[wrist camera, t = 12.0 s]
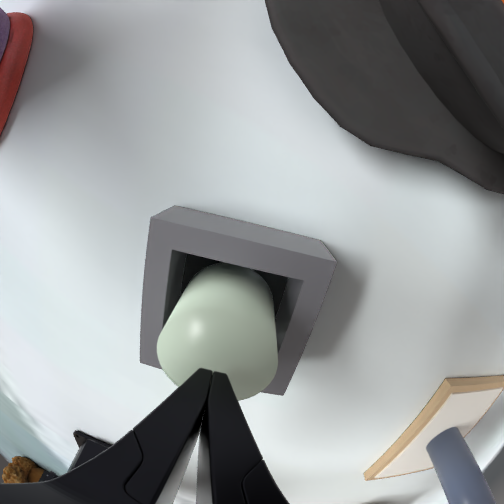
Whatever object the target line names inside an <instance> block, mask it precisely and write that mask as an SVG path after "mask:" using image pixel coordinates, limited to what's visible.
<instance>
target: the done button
mask: <svg viewBox="0 0 504 504" xmlns="http://www.w3.org/2000/svg"><path fill="white" fill-rule="evenodd" d="M157 355H158V360H159V363H160V365H161V367H162V369H163V371H164V372H165V374H166V375H167V376H168V377H169V379H170V380H171V381H172V382H173V383H174V384H176V385H177V386H178V387H179V386H180V385H182V384H183V383H184V382H185V381H186V380H187V379H188V378H189V377H190V376H191V375H192V374H193V373H194V372H195V371H196V370H197V369H199V368H205V369H209V370H212V371H213V372H214V371H218V372H222V373H226V374H227V375H228V378H229V380H230V383H231V385H232V388H233V390H234V393H235V395H236V398H237V400H238V401H239V400H244V399H247V398H250V397H252V396H254V395H256V394H258V393H260V392H261V391H262V390H264V389H265V388H266V387H267V386H268V385H269V384H270V383H271V381H272V380H273V378H274V376H275V374H276V371H277V367H278V353H277V340H276V327H275V314H274V302H273V296H272V293H271V290H270V288H269V286H268V284H267V283H266V281H265V280H264V279H263V278H262V277H261V276H260V275H259V274H258V273H256V272H255V271H253V270H252V269H250V268H247V267H242V266H238V265H234V264H230V263H217V264H213V265H210V266H207V267H205V268H203V269H202V270H200V271H199V272H198V273H196V274H195V275H194V276H193V278H192V279H191V280H190V282H189V284H188V285H187V287H186V289H185V291H184V292H183V294H182V296H181V298H180V299H179V301H178V303H177V305H176V306H175V308H174V310H173V312H172V313H171V315H170V317H169V319H168V321H167V322H166V324H165V326H164V328H163V330H162V331H161V333H160V335H159V338H158V342H157ZM211 379H212V378H211Z"/></svg>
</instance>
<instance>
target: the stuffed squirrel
mask: <svg viewBox="0 0 504 504" xmlns="http://www.w3.org/2000/svg"><path fill="white" fill-rule="evenodd" d="M12 461H13V463H10V464H8V466H7V467H5V468H4V470H3V472H4V473H3V474H2V478H3V480H4V483H34V482H38V481H39V479H40V478H41V476H42V474H43V472H44V469H41V468H39V467H38V466H37V465H36V464H35V463H34V462H33V461H31V460H30V459H28V458H25V457H21V456H15V457H14V458H12ZM45 471H46V470H45ZM47 472H48V471H47Z"/></svg>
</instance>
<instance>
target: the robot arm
mask: <svg viewBox="0 0 504 504" xmlns="http://www.w3.org/2000/svg"><path fill="white" fill-rule="evenodd" d="M211 378H212V379H211ZM204 410H205V411H204ZM202 419H203V420H202ZM201 424H202V425H201ZM200 428H201V430H200ZM199 432H200V436H199ZM73 435H74V437H75V439H76V442H77V444H78V446H79V450H78V452H77V454H76V456H75V458H74V460H73V462H72V464H71V466H70V468H69V470H68V472H67V473H65V474H64V475H61V476H59V477H58V476H57V475H56V474H55V473H54V472H52V471H51V472H47V471H45V470H44V472H43V474H42V476H41V478H40V479H39V481H38V482H34V483H0V504H173V502H174V499H175V497H176V494H177V492H178V489H179V486H180V484H181V481H182V479H183V476H184V473H185V471H186V468H187V466H188V463H189V460H190V458H191V455H192V452H193V450H194V447H195V444H196V442H197V439H198V436H199V450H198V470H197V496H196V504H289V502H288V501H287V500H286V498H285V497H284V495H283V494H282V492H281V491H280V489H279V488H278V486H277V484H276V483H275V481H274V479H273V477H272V475H271V473H270V471H269V470H268V467H267V465H266V463H265V461H264V460H262V459H263V457H262V455H261V453H260V451H259V448H258V446H257V444H256V442H255V440H254V437H253V435H252V433H251V431H250V428H249V426H248V424H247V421H246V419H245V417H244V414H243V412H242V410H241V407H240V405H239V402H238V400H237V398H236V395H235V393H234V390H233V388H232V385H231V383H230V380H229V378H228V375H227V374H226V373H222V372H218V371H214V372H213V371H212V370H209V369H205V368H199V369H197V370H196V371H195V372H194V373H193V374H192V375H191V376H190V377H189V378H188V379H187V380H186V381H185V382H184V383H183V384H182V385H180V386H179V387H178V388H177V389H176V390H175V391H174V392H173V393H172V394H171V395H170V396H169V397H167V398H166V399H165V400H164V401H163V402H162V403H161V404H160V405H159V406H158V407H157V408H155V409H154V410H153V411H152V412H151V413H150V414H149V415H148V416H146V417H145V418H144V419H143V420H142V421H141V422H140V423H139V424H137V425H136V426H135V427H134V428H133V430H130V431H129V432H128V433H127V434H126V435H125V436H123V437H122V438H121V439H120V440H118V441H117V442H116V443H115V444H113V445H112V446H110V445H108V444H105V443H103V442H100V441H98V440H96V439H94V438H91V437H89V436H87V435H85V434H83V433H81V432H79V431H76V430H75V431H74V433H73Z"/></svg>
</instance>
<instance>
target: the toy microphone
mask: <svg viewBox="0 0 504 504" xmlns="http://www.w3.org/2000/svg"><path fill="white" fill-rule="evenodd" d="M426 450H427V452H428V454H429V457H430V459H431V461H432V463H433V466H434V468H435V470H436V473H437V475H438V477H439V480H440V482H441V485H442V487H443V490H444V492H445V495H446V497H447V500H448V502H449V504H496V501H495V499H494V497H493V495H492V493H491V490H490V488H489V486H488V484H487V482H486V480H485V478H484V476H483V474H482V472H481V470H480V468H479V466H478V464H477V462H476V460H475V458H474V456H473V454H472V453H471V451H470V449H469V447H468V445H467V443H466V442H465V440H464V438H463V436H462V435H461V433H460V431H459V429H458V428H457V427H451V428H449V429H446V430H444V431H443V432H441V433H440V434H438V435H437V436H435V437H434V438H433V439H432V440H431V441H430V442H429V443H428V445H427V446H426Z"/></svg>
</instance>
